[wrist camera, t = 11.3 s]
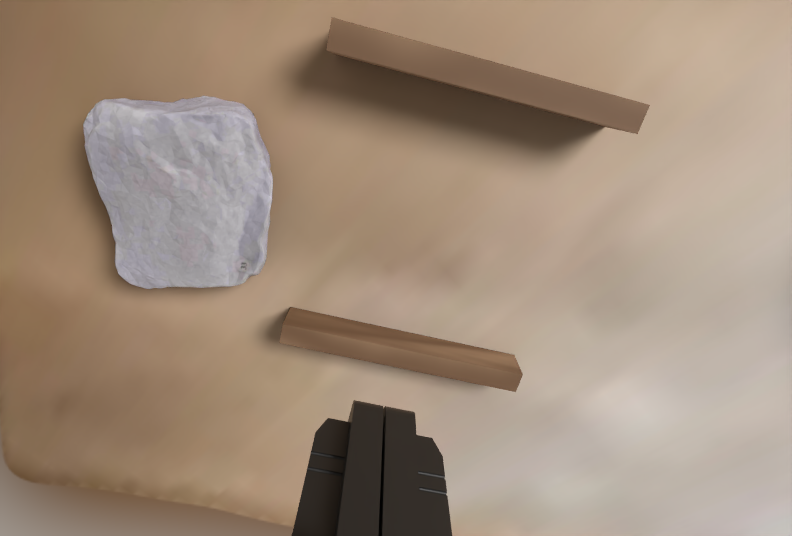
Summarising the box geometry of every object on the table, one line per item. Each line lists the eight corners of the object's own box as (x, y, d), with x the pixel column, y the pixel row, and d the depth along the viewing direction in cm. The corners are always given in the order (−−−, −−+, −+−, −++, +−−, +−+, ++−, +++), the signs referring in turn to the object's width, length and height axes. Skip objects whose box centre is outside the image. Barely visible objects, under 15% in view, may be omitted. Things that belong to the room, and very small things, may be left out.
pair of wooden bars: (340, 26, 26) (331, 17, 23) (615, 102, 28) (649, 105, 24) (287, 324, 34) (273, 355, 30) (507, 371, 35) (521, 405, 31)
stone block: (266, 92, 29) (95, 95, 28) (262, 97, 25) (59, 101, 23) (285, 262, 34) (141, 274, 32) (284, 291, 30) (117, 306, 28)
